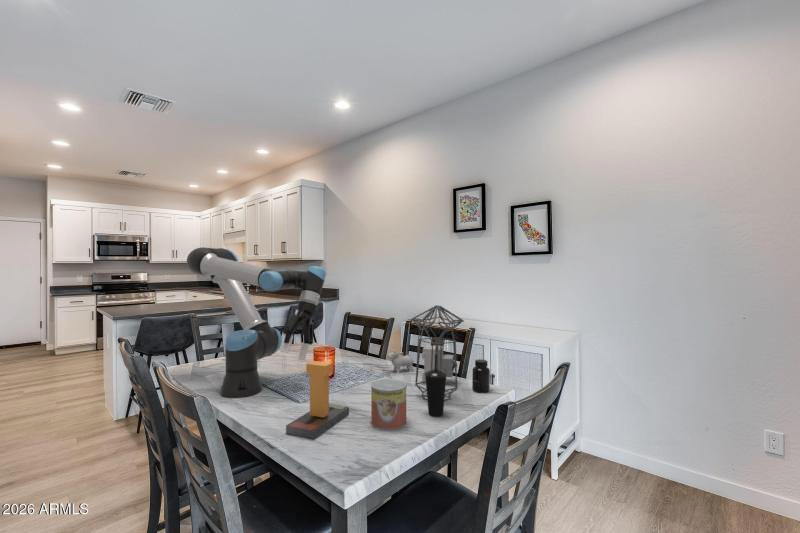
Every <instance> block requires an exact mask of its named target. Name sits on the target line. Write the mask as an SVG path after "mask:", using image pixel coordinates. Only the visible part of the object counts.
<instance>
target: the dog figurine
mask: <svg viewBox="0 0 800 533" xmlns="http://www.w3.org/2000/svg"><path fill="white" fill-rule="evenodd" d="M386 357H387V359H389V360H391V364H392V366H393V372H396V373H395V374H399V373H400V371H401V367H406V368H405V371H409V373H412V372H413V365H414V364H413V363H414V359H413V357H412V355H411V354H406V355H404V352H403V351H399V352H398V351H397V350H396V349H391V352H389V353H387V354H386Z"/></svg>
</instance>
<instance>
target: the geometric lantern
mask: <svg viewBox="0 0 800 533" xmlns="http://www.w3.org/2000/svg"><path fill="white" fill-rule="evenodd" d="M424 314H425V316H424V317H423V318H418V317H420V316H422V315H424ZM450 315H451V316H452V317H454V318H456V319H453V318H452V317H451V316H450ZM436 319H439V320H441V321H438V322H436ZM431 320H432V321H431ZM410 321H412V322H413V323H414V324H415V325H416V326H417V327H418V329H419V333H418V338H417V354H416V355H417V356H416V369H415V385H414V386H415V387H417V389H419V391H420V392H421V393H422V394H421V399H424V400H425V401H427V389H426V388H425V387H423V386H420V384H421V385H423V384H422V383H426V381H424V382H422V381H420V382H418V379H419V378H418V377H419V368H420V358H421V357H420V356H421V344H422V342H423V343H428V344H431V345H432V354H431V370H432V367H433V346H434V345H435V346H436V347H435V354H436V353H437V369H438V370H439V366H438V346H440V370H442V346H443V344H444V345H445V344H451V343H452V344H453V346H452V348H453V355H454V356H453V357H454V363H455V368H454V375H455V379H454V380H455V384H454V383H451V382H448V381H446V384H447V385H451V386H453V388H445V397H446V398H445V399H444V402H446V401H449V400H451V399H452V398H451V394H453V393H454V392H455V391H457V390H458V372H457V370H458V369H457V368H458V364H457V365H456V363H457V340H456V339H455V334H454V331H453V330H455V329H456V328H457V327H458V326H460V324H462V323H464V322H465V320H464V319H462V318H460V317H459V316H457V315H456V314H454V313H452V312H451V311H449V310H448V309H446V308H445V307H444V306H441V305H438V304H437V305H436V304H435V305H434V306H433V307H431V308H429V309H427V310H425V311H423V312H421V313H419V314H417V315H416V316H414V317H412V318H411V319H410ZM445 321H447V322H445ZM422 323H423V324H422ZM425 324H426V325H425ZM427 324H428V325H427ZM434 324H437V325H439V327H440V328H441V329H442V330H443V331H442V332H441V334H439V337H437V335H436V334H435V333H434V331H433V329H432V328H431V326H432V325H434ZM442 324H443V325H445V327H444V326H443V325H442ZM421 326H422V327H421ZM427 329H429V330H430V331H431V332H432V334H433V335H434V336H433V337H431V336H430V334H429V332H428V330H427ZM424 331H425V333H426V335H427V336H428V337H425V338H423V333H424ZM447 332H451V336H452V339H450V338H445V337H444V335H445V334H446V333H447ZM432 339H435V342H434V341H433V340H432ZM426 340H427V341H426ZM428 340H429V341H428ZM442 340H447V341H446V342H445V341H444V342H442ZM430 341H431V342H430ZM438 341H439V342H438ZM434 369H435V364H434ZM425 397H426V398H425Z"/></svg>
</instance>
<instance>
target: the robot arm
mask: <svg viewBox="0 0 800 533" xmlns="http://www.w3.org/2000/svg"><path fill="white" fill-rule="evenodd" d="M186 265H187V267H188V270H190V271H191V272H192V273H193V274H196V275H199V276H200V275H201V276H205V277H209V278H210V279H211V281H212V283H213V284H218V286H219V288H220V289H221V291H222V293H223V295H224V297H225V299H226V301H227V302H228V304H229V306H230V307H231V309H232V311H233V313H234V315H235V317H236V319H237V320H238V322H239V324H240V326H241V327H242V329H241V330H237V331H233V332H232V333H229V334H228V335H227V336H226V338H225V345H224V347H225V375H224V378H223V380H222V385H221V387H220V395H221V396H222V397H225V398H245V397H250V396H252V395H256V394H258V393H260V392H261V391H262V390H263V383H262V381H261V378H260V374H259V371H258V361H260V360H261V359H264V358H267V357H270V356H272V355H274V354H276V353H277V352H278V351H279V350H280V348H281V351H280V352H281V353H285V354H289V352H290V349H291V345H292V343H293V338H294V335H293V334H295V332H296V331H297V330H298V328H299V327H301V329H302V334H303V335H302V336H303V342H302V343H301V347H300V351H299V355H298V358H297V359H298V360H300V361H306V357H307V355H308V351H309V347H310V345H313V344H314V330H315V329H314V328H315V319H312V316H315V315H316V312H317V309H318V304H319V302H320V299H321V294H322V290H323V287H324V282H325V279H326V274H327V272H326V269H324V268H323V267H320V266H317V265H316V266H315V265H312V266H309V267H308V269H307V271H306V270H305V271H302V270H292V269H281V270H275V269H274V270H273V269H270V268H266V267H262V266H259V265H253V264H249V263H245V262H244V263H243V262H241V261H239V259H238V256H237V255H236V254H235V252H234V251H232V250H230V249H227V248H222V247H218V248H215V247H214V248H213V247H197V248H195V249H192V250H191V251H190V252H189V253H188V255H187V258H186ZM244 284H248V285H252V286H256V287H260V288H261V289H263V290H264V291H266V292H267V291H268V292H274V291H280V290H281V291H282V290H289V289H290V290H291V289H293V290H294V289H297V290H301V294H300V297H299V302H298V303H297V307H296V309H294V310H293V312H292V315H291V316H290V318H289V320H288V321H287V323H286V324H285V326H284V327H283V334H284V335H285V337H284V339H283V340H282V334H281V332H280V331H279V329H277V328H275V327H271V325H270V323H269V321H268V320H265V319H262V316H261V315H260V312H259V311H258V309H257V307H256V306H255V305H254V302H253V300H252V299H251V297H250V295H249V294H248V292H247V290H246V287H244ZM282 341H283V343H282ZM281 346H282V347H281Z"/></svg>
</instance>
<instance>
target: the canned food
mask: <svg viewBox="0 0 800 533" xmlns="http://www.w3.org/2000/svg"><path fill="white" fill-rule="evenodd" d="M407 385H408V384H407V383H406V382H404V381H402V380H398V379H381V380H376V381H374V382H372V383H371V385H370V387H371V389H370V390H371V398H370V399H371V404H370V405H371V421H370V424H371V426H372V427H374V428H376V429H379V430H382V431H392V430H398V429H402V428H403V427H405V426H406V425H407V422H408V421H407Z"/></svg>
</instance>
